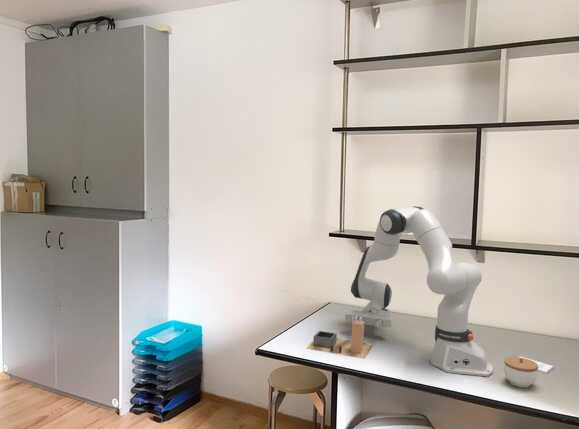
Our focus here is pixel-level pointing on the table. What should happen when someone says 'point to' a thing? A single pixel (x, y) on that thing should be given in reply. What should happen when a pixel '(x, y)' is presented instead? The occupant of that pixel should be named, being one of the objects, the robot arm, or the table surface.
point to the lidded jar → (520, 371)
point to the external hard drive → (542, 366)
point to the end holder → (325, 339)
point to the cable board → (343, 348)
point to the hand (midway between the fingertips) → (364, 323)
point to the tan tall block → (357, 336)
